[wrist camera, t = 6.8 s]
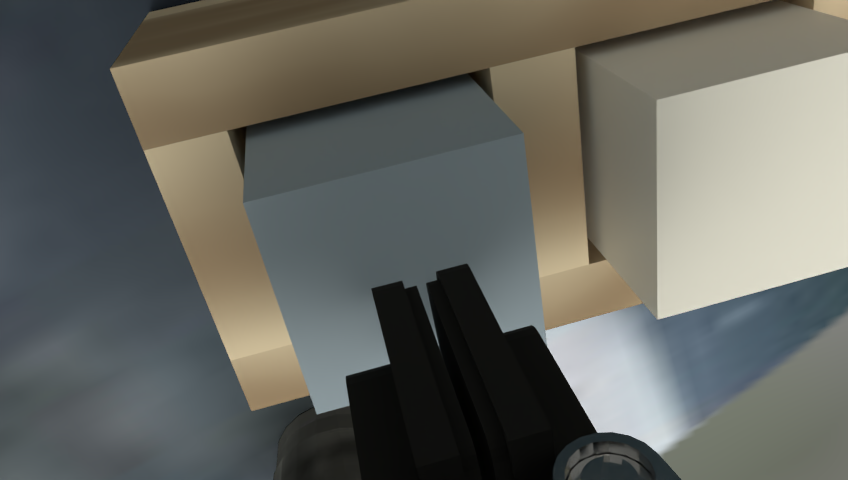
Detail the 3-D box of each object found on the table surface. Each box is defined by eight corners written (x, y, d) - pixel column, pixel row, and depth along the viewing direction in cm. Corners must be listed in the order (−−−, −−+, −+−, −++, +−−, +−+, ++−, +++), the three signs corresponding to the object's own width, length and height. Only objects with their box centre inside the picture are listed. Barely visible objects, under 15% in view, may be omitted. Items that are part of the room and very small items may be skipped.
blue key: (246, 124, 15) (242, 202, 12) (466, 71, 16) (523, 133, 12) (305, 306, 18) (316, 414, 14) (493, 257, 18) (547, 350, 15)
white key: (571, 46, 16) (656, 99, 13) (773, -2, 16) (909, 37, 13) (583, 232, 18) (657, 319, 15) (758, 187, 19) (868, 261, 16)
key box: (149, 12, 18) (109, 69, 13) (985, -174, 20) (1208, -182, 15) (253, 294, 23) (251, 411, 18) (925, 118, 25) (1083, 181, 20)
